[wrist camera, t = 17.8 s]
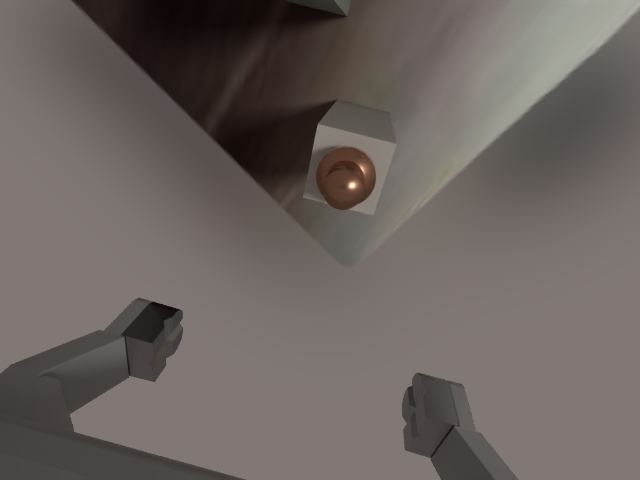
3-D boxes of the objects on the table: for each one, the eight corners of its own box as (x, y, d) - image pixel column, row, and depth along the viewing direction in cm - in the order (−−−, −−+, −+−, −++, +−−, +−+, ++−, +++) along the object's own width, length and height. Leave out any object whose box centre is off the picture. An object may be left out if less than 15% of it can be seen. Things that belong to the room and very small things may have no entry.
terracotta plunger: (381, 123, 41) (384, 167, 25) (369, 164, 44) (365, 227, 28) (340, 112, 41) (317, 150, 25) (330, 154, 44) (304, 211, 28)
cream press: (389, 113, 44) (396, 144, 29) (374, 164, 47) (373, 215, 32) (337, 99, 44) (317, 123, 29) (325, 152, 47) (302, 197, 33)
